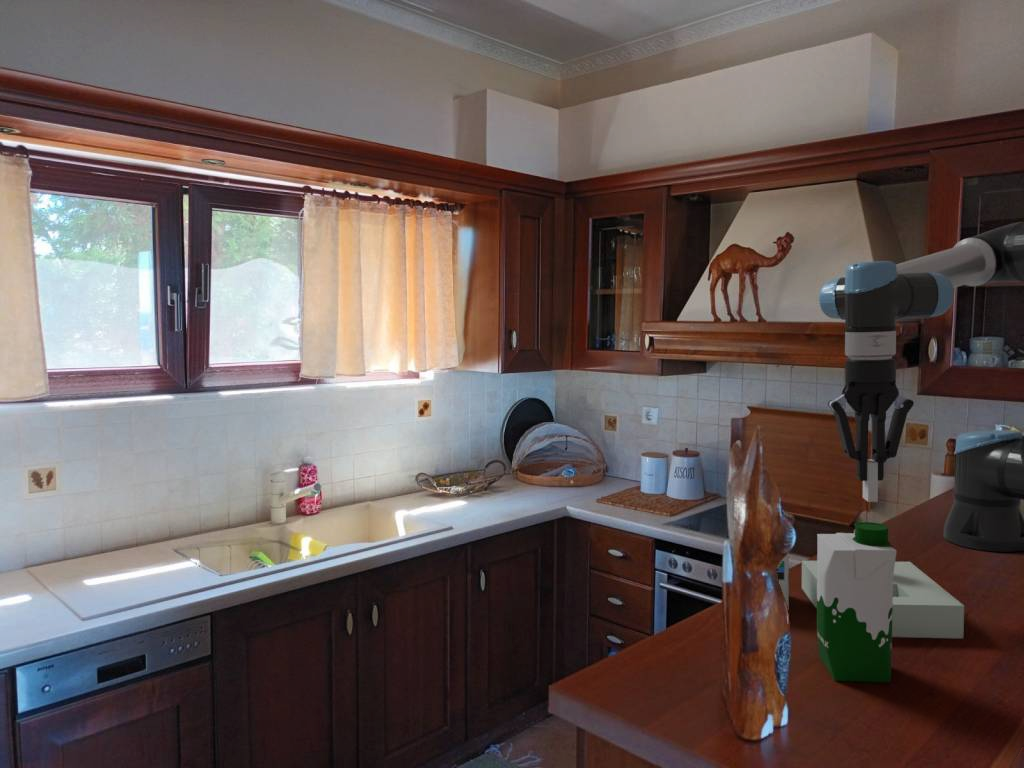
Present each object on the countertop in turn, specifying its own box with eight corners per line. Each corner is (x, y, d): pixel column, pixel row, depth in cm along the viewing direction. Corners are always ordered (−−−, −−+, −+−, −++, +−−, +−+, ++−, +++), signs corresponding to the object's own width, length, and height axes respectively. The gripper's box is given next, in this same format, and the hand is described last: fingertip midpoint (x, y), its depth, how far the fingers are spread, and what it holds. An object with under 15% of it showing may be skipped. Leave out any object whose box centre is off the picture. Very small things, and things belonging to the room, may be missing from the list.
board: (909, 589, 132) (909, 561, 131) (963, 638, 112) (964, 605, 111) (801, 588, 134) (801, 560, 133) (836, 635, 114) (836, 603, 114)
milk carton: (900, 686, 98) (903, 535, 97) (828, 684, 99) (830, 535, 98) (875, 655, 107) (877, 517, 105) (809, 654, 108) (810, 517, 106)
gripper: (835, 360, 120) (835, 506, 122) (922, 357, 119) (921, 505, 121) (821, 357, 128) (822, 494, 130) (903, 354, 126) (902, 493, 128)
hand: (870, 499), depth 125 cm, fingers closed
